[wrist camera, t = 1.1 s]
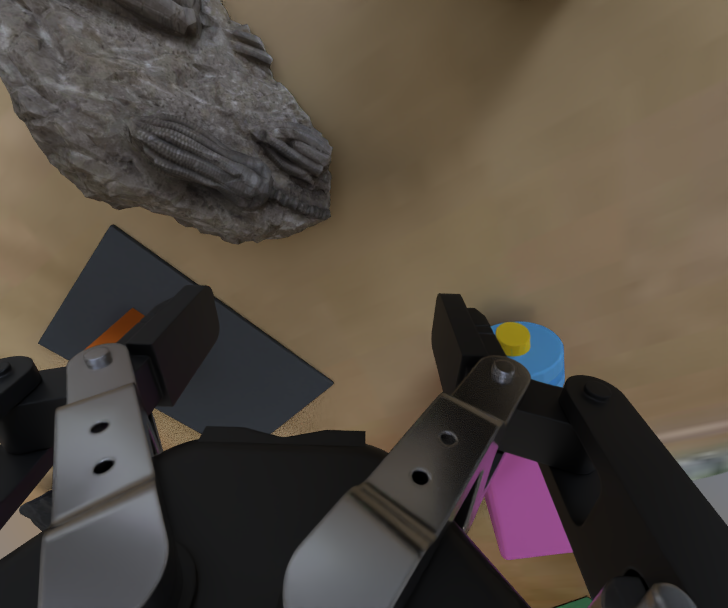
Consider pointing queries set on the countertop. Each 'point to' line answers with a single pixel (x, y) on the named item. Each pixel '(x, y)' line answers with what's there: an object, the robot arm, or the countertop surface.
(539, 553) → the toy
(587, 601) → the terrain model
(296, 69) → the countertop surface
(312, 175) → the fossil
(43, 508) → the rock
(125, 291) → the mat
